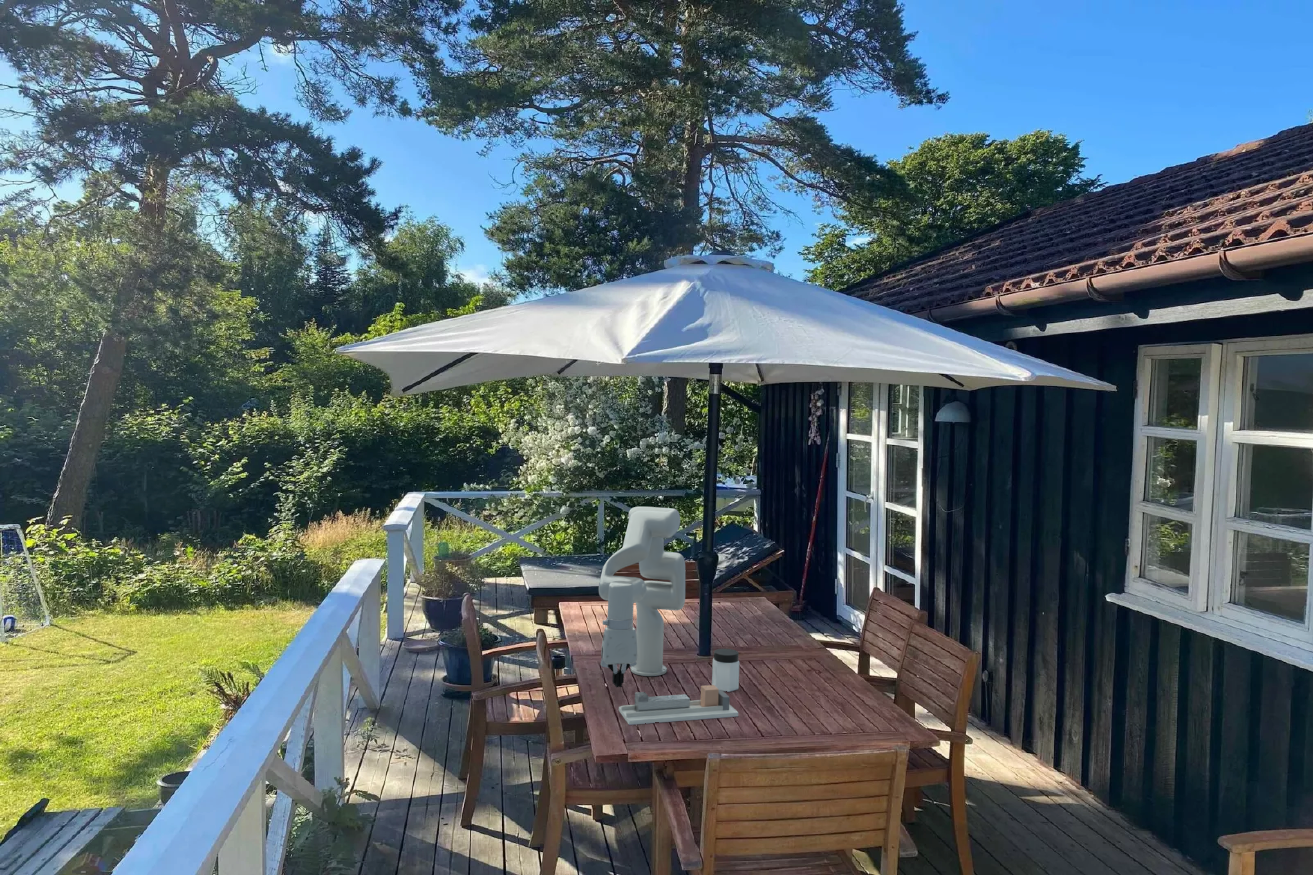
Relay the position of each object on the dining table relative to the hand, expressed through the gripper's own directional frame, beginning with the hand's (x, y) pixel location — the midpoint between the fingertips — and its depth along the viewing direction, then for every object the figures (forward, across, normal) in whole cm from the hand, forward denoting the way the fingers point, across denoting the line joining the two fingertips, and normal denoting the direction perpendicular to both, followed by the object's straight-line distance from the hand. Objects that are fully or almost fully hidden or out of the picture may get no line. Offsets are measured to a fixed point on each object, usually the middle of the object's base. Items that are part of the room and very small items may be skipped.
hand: (617, 685), depth 253 cm
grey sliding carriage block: (+8, +14, +1) cm, 16 cm away
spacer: (+8, +29, +1) cm, 30 cm away
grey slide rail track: (+10, +19, +1) cm, 22 cm away
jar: (+9, +42, +21) cm, 48 cm away
